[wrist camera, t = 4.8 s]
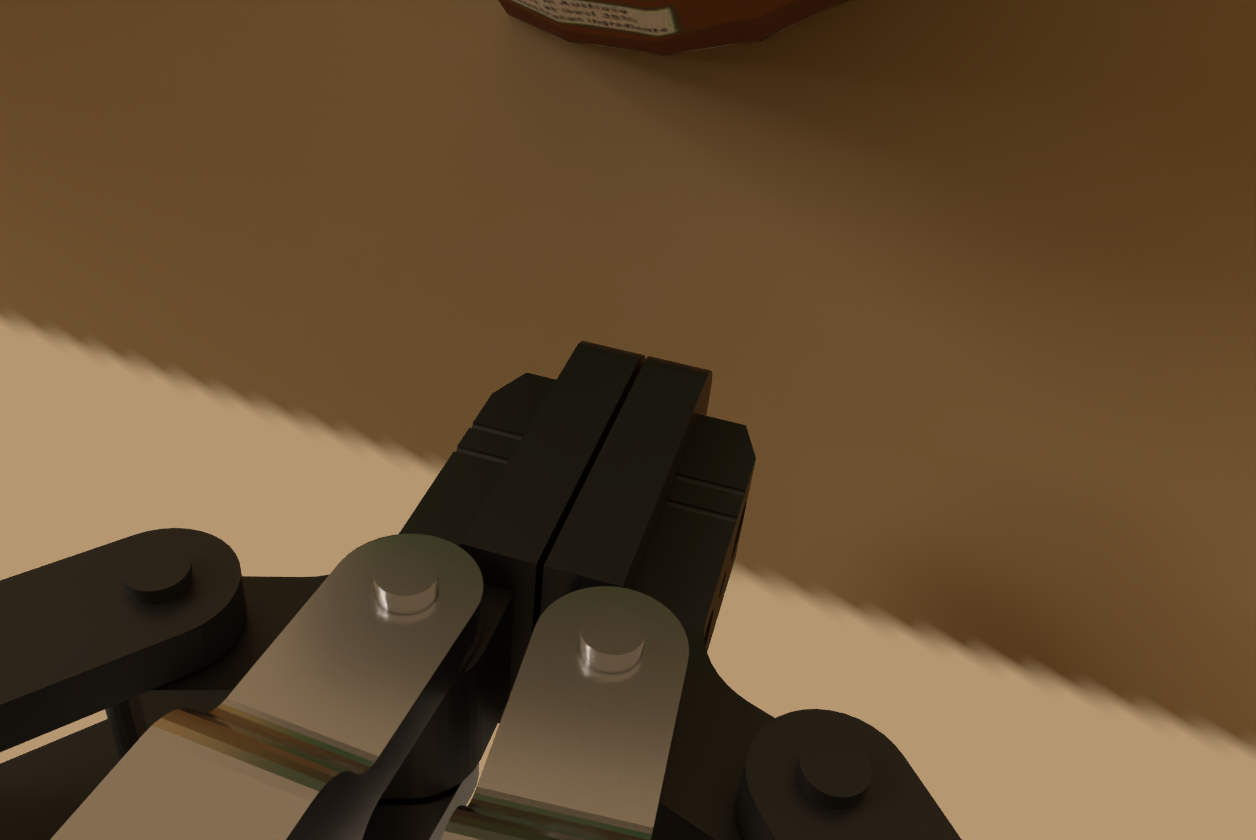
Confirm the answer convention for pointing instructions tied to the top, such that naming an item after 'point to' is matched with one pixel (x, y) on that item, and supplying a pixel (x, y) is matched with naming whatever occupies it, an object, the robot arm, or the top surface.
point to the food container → (665, 21)
